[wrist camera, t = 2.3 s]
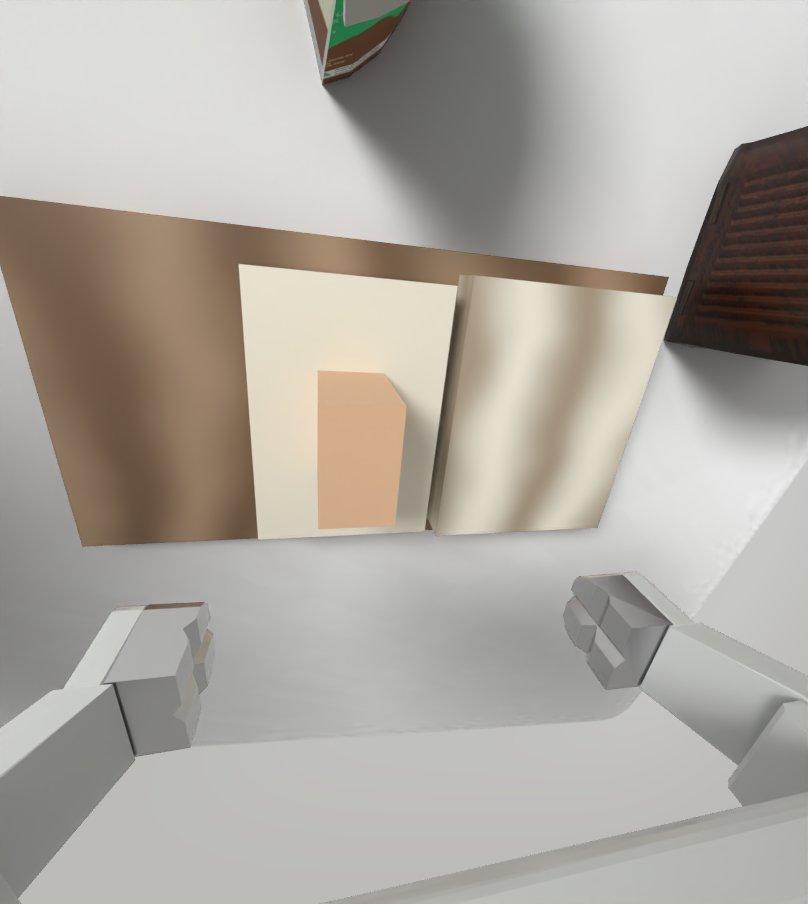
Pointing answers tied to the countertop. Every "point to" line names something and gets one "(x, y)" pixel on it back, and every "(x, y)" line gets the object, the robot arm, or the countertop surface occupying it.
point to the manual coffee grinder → (752, 257)
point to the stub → (343, 399)
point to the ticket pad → (225, 381)
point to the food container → (350, 32)
